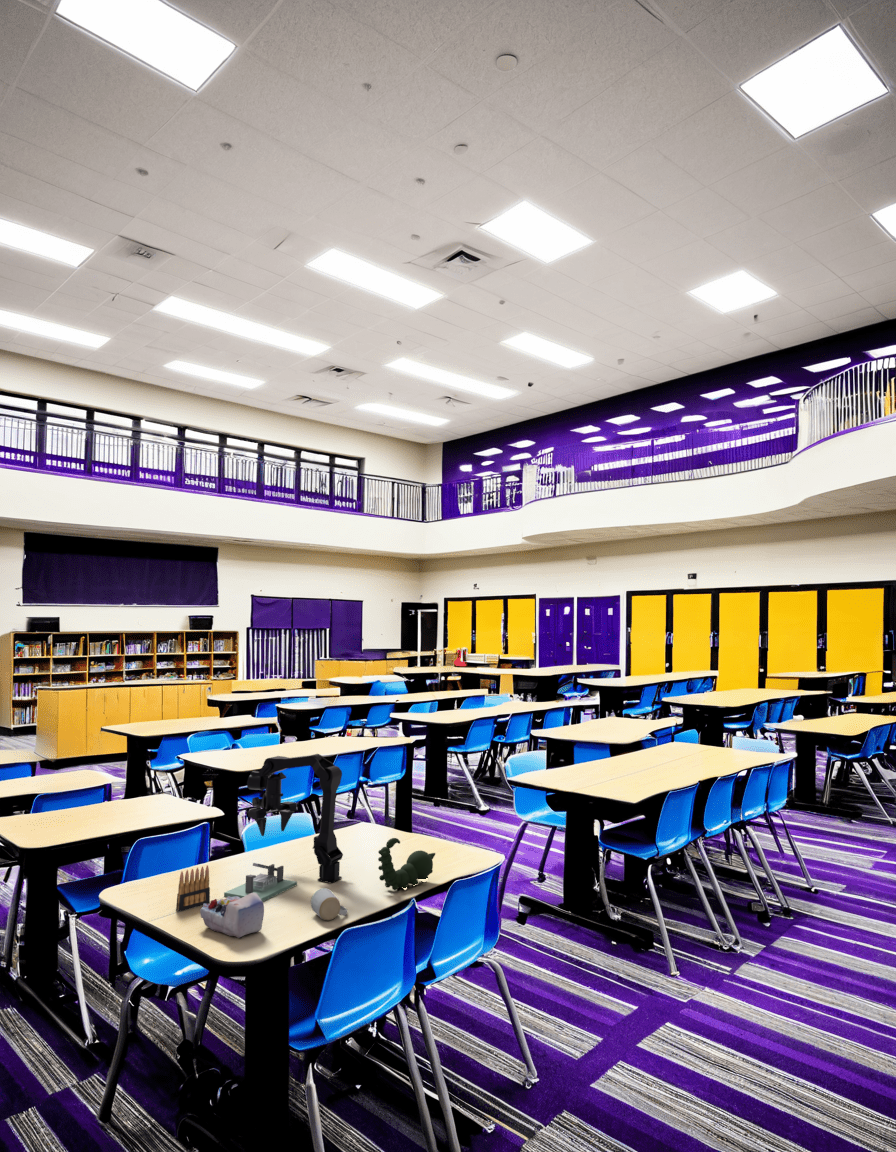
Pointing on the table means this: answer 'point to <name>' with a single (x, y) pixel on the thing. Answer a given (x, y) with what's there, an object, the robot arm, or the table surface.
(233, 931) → the cell model
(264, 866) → the strap
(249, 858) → the table surface
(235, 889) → the board
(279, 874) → the pivot mount
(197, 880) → the ammunition clip
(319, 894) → the ceramic mug
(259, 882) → the heatsink
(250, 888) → the lug
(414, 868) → the toy figurine
